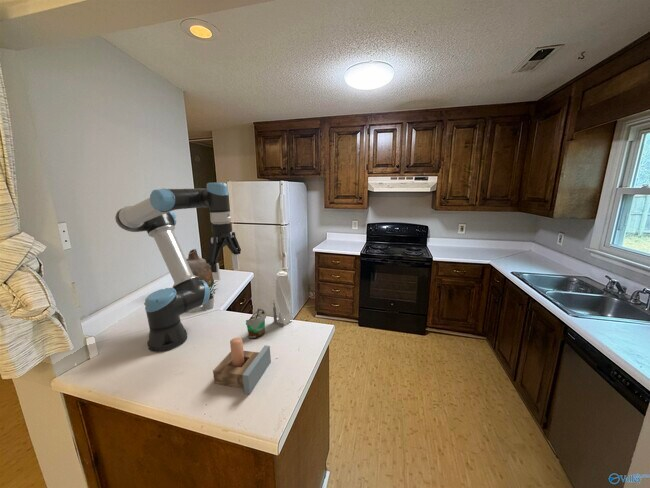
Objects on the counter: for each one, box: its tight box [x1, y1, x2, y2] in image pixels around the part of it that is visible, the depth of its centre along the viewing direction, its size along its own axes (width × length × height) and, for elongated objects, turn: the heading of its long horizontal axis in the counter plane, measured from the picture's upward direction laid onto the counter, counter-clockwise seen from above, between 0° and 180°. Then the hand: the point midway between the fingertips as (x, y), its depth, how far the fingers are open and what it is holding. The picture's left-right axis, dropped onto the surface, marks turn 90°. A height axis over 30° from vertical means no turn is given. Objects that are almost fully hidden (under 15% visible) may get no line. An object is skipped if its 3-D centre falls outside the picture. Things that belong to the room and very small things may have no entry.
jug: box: [186, 248, 215, 288], centre depth 167 cm, size 24×21×30 cm
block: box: [212, 350, 260, 389], centre depth 92 cm, size 12×12×5 cm
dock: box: [242, 345, 272, 395], centre depth 92 cm, size 23×16×8 cm
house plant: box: [202, 280, 218, 311], centre depth 147 cm, size 14×14×16 cm
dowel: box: [229, 337, 245, 367], centre depth 91 cm, size 4×4×12 cm
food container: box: [245, 308, 267, 340], centre depth 118 cm, size 12×6×10 cm, turn 168°
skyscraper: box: [272, 266, 293, 327], centre depth 127 cm, size 8×8×28 cm
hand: (227, 274), depth 107 cm, fingers open, 13 cm apart
